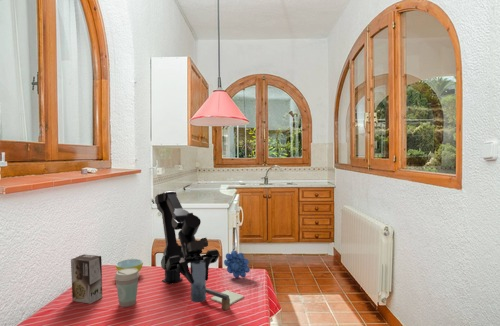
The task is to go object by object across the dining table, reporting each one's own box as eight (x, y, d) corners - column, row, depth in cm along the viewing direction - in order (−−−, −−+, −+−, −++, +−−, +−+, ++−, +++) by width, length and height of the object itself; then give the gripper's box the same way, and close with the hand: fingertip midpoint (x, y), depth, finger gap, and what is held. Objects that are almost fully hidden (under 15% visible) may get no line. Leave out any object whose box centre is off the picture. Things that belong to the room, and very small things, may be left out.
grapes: (221, 280, 142) (221, 253, 142) (225, 274, 149) (225, 248, 149) (248, 282, 140) (247, 254, 140) (250, 276, 147) (250, 249, 146)
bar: (198, 290, 124) (198, 287, 124) (201, 289, 125) (201, 286, 125) (226, 299, 115) (226, 296, 115) (228, 298, 116) (228, 295, 116)
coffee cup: (115, 300, 123) (114, 269, 123) (138, 296, 127) (138, 266, 126) (115, 310, 116) (114, 277, 115) (140, 306, 119) (140, 273, 119)
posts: (198, 299, 123) (198, 290, 123) (202, 297, 125) (202, 288, 125) (226, 310, 115) (225, 300, 115) (229, 308, 116) (229, 298, 116)
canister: (187, 299, 115) (187, 262, 114) (198, 294, 119) (198, 259, 119) (198, 303, 112) (197, 265, 111) (209, 298, 116) (208, 261, 115)
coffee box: (103, 297, 127) (102, 255, 127) (90, 304, 121) (89, 260, 120) (85, 294, 130) (83, 253, 130) (71, 301, 124) (70, 258, 123)
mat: (210, 299, 124) (210, 298, 124) (226, 291, 131) (226, 290, 131) (228, 305, 118) (228, 304, 118) (244, 297, 125) (244, 295, 125)
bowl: (134, 282, 142) (134, 267, 142) (110, 280, 144) (110, 266, 144) (147, 272, 153) (147, 259, 153) (125, 271, 155) (125, 258, 155)
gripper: (167, 234, 113) (178, 276, 104) (217, 227, 123) (230, 265, 113) (162, 251, 120) (171, 291, 111) (209, 243, 130) (221, 280, 121)
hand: (199, 281), depth 114 cm, fingers closed on canister, 5 cm apart
